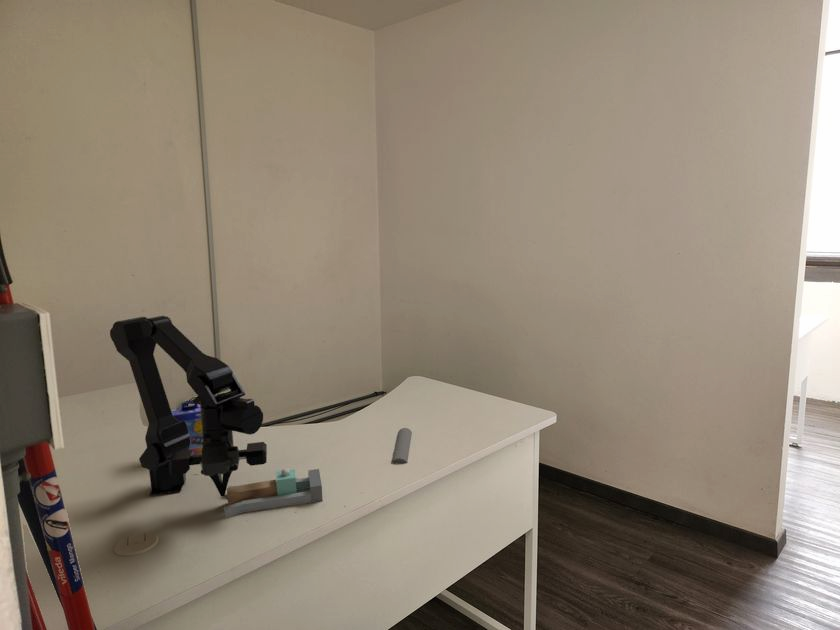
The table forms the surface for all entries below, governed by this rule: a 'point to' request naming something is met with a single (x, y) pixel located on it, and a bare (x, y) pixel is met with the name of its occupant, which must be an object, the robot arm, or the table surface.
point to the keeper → (286, 482)
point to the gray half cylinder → (402, 446)
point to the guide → (282, 497)
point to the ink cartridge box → (191, 424)
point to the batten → (251, 491)
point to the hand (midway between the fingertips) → (223, 495)
